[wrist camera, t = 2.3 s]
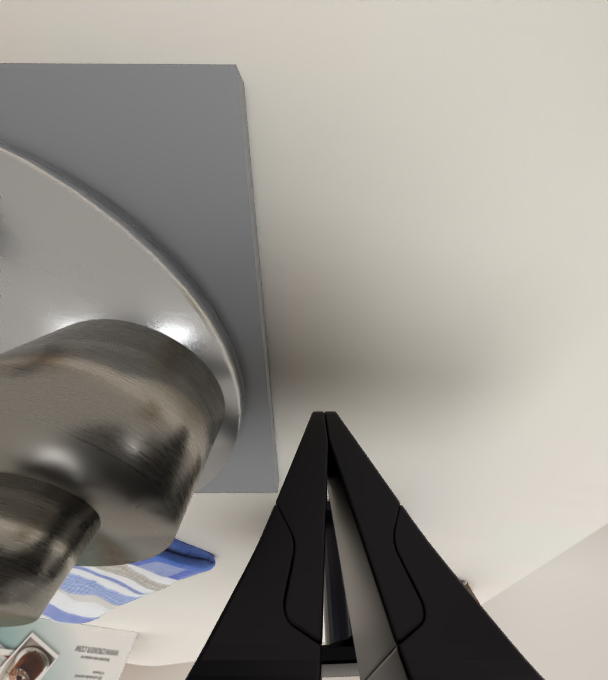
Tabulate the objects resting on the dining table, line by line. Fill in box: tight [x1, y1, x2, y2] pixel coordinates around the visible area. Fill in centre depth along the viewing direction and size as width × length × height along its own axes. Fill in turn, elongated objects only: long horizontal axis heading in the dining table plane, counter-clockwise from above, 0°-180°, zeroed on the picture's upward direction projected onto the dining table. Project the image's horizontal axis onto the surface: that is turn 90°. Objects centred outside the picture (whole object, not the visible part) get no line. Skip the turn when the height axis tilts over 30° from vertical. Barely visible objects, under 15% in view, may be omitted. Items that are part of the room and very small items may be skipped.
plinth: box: [0, 63, 279, 493], centre depth 10 cm, size 20×20×1 cm
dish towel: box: [41, 538, 215, 624], centre depth 21 cm, size 17×24×3 cm
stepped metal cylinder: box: [0, 319, 225, 627], centre depth 6 cm, size 7×7×6 cm
